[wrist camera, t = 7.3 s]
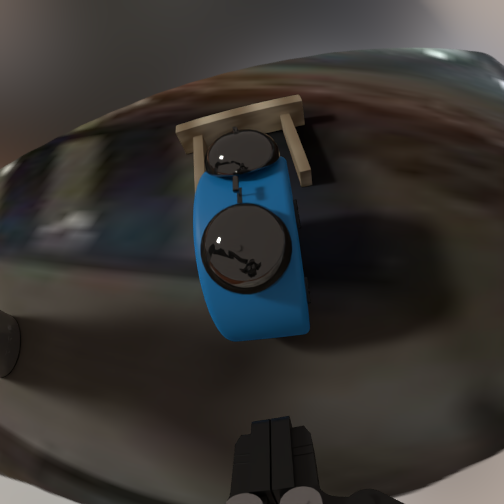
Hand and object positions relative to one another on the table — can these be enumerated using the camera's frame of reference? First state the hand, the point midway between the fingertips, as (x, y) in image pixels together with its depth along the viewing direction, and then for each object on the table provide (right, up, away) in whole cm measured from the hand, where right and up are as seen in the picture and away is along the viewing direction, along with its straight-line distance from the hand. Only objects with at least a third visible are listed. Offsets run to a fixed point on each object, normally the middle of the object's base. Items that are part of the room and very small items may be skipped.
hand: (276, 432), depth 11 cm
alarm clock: (+1, +4, +19) cm, 19 cm away
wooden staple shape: (-1, +18, +26) cm, 32 cm away
